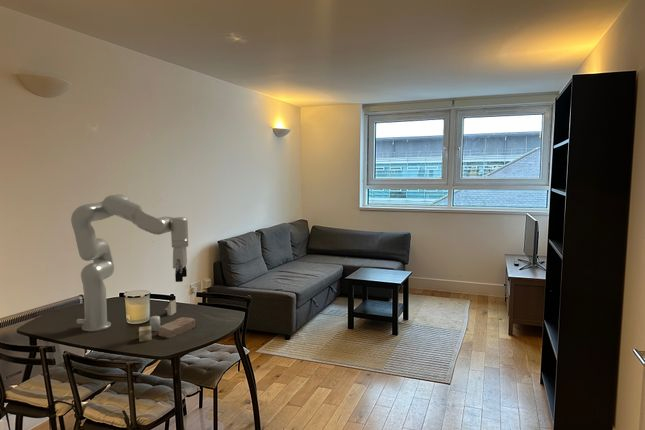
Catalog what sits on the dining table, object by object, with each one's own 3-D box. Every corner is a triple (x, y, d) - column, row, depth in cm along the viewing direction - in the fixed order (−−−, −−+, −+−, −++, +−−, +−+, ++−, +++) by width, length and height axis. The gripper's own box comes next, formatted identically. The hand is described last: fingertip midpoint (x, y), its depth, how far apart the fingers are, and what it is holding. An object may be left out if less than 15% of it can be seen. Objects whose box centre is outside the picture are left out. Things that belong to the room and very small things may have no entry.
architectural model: (164, 316, 235) (164, 302, 234) (171, 311, 241) (171, 298, 241) (170, 316, 234) (170, 302, 233) (177, 312, 241) (176, 298, 240)
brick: (170, 339, 202) (170, 328, 201) (157, 335, 206) (156, 325, 205) (196, 328, 217) (195, 318, 216) (183, 325, 220) (183, 316, 220)
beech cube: (139, 341, 198) (138, 330, 197) (139, 337, 202) (139, 327, 202) (151, 340, 199) (150, 329, 199) (151, 336, 204) (151, 325, 204)
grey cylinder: (148, 331, 210) (148, 319, 210) (151, 328, 215) (151, 315, 214) (158, 331, 211) (158, 318, 210) (161, 327, 215) (161, 315, 215)
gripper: (175, 241, 218) (176, 275, 219) (167, 246, 200) (169, 283, 202) (191, 240, 218) (192, 274, 220) (184, 246, 201) (186, 283, 203)
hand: (181, 279), depth 211 cm, fingers open, 9 cm apart
